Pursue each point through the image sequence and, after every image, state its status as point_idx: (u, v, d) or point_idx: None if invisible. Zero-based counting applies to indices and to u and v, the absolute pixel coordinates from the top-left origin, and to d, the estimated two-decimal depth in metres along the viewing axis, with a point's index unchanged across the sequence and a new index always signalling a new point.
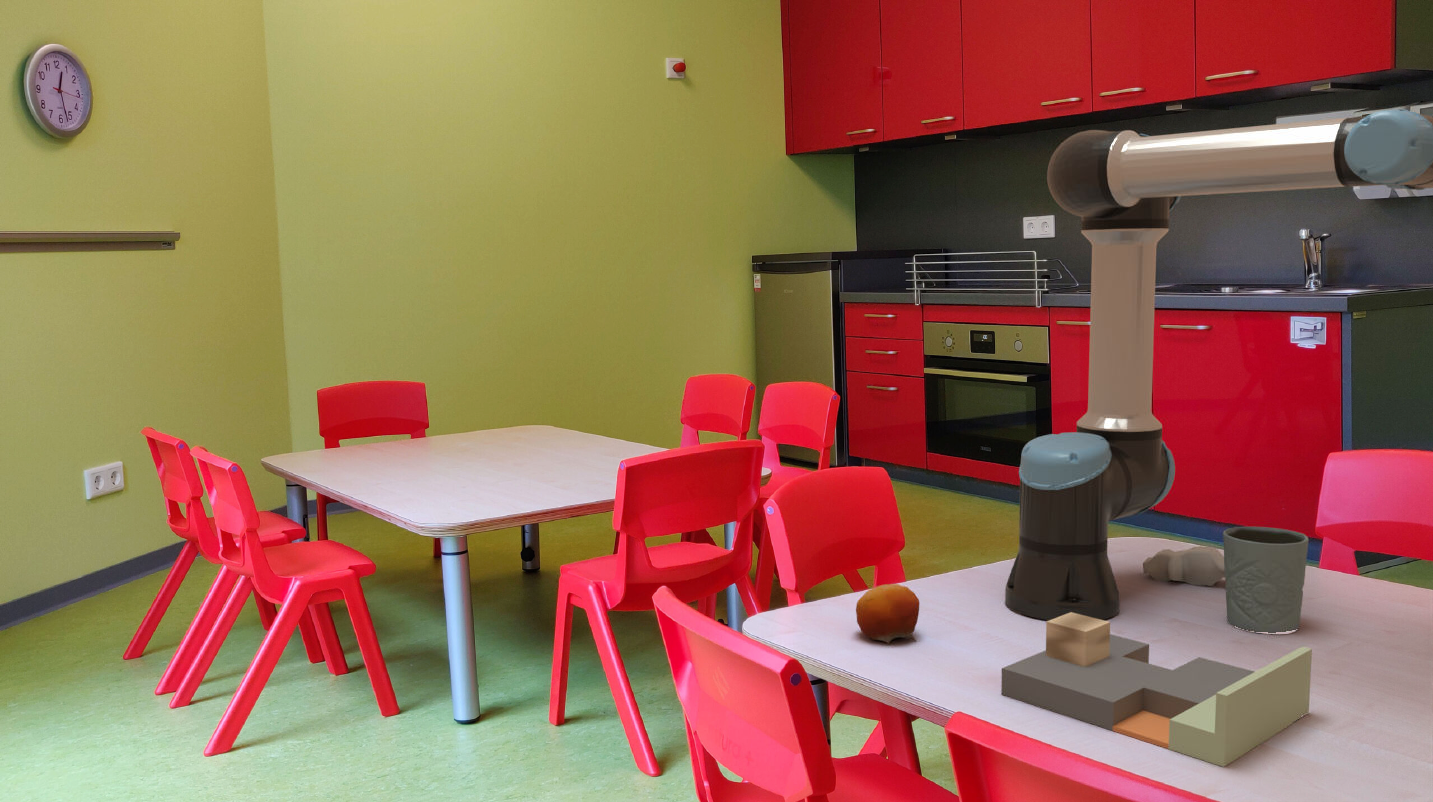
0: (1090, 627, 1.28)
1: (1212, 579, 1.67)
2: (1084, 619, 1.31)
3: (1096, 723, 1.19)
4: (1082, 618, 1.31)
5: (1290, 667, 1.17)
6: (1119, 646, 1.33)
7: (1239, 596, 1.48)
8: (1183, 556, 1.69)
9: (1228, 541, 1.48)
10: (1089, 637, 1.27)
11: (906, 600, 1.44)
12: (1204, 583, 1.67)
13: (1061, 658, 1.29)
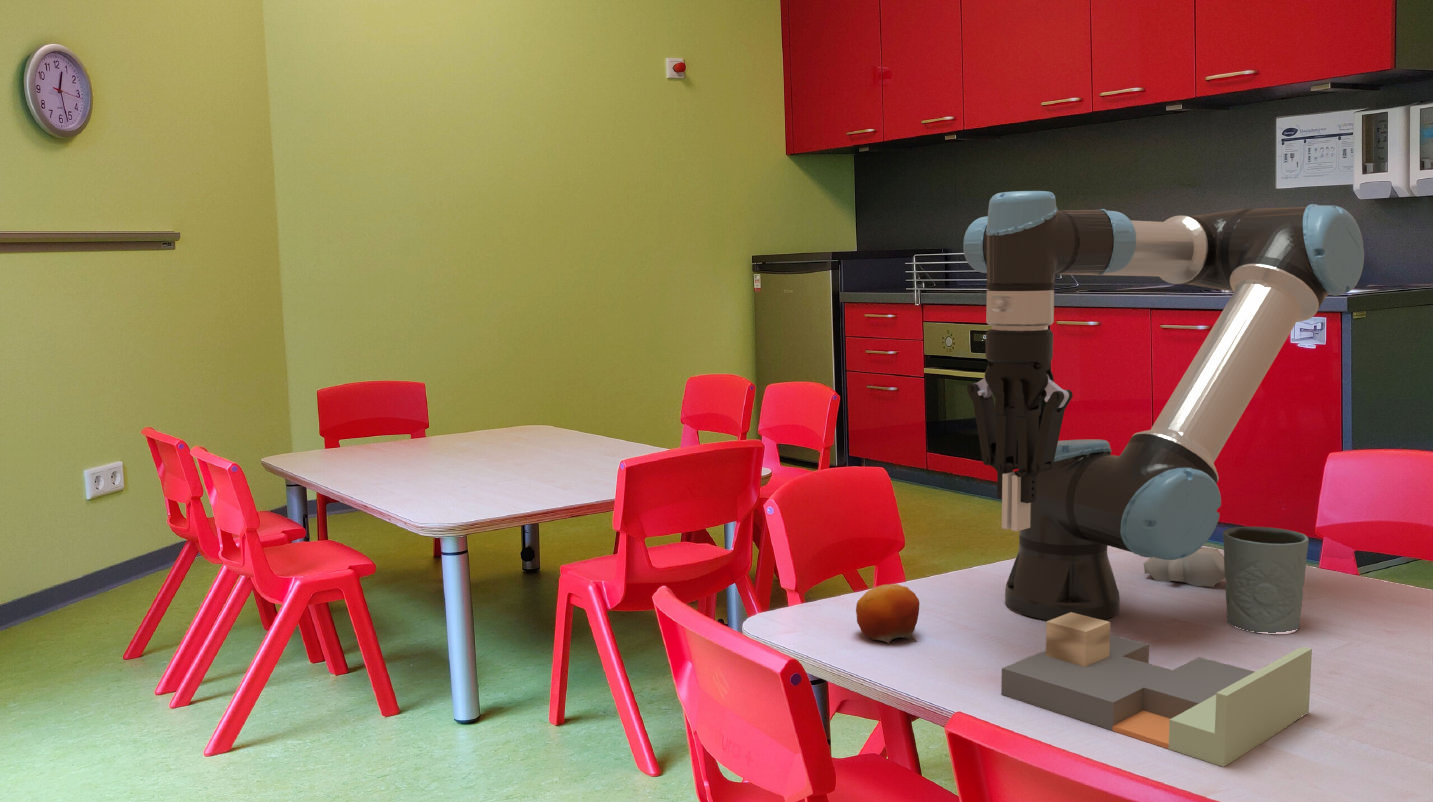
0: (1090, 627, 1.28)
1: (1213, 580, 1.66)
2: (1084, 619, 1.31)
3: (1096, 723, 1.19)
4: (1082, 618, 1.31)
5: (1290, 667, 1.17)
6: (1119, 646, 1.33)
7: (1239, 596, 1.48)
8: (1184, 557, 1.68)
9: (1228, 541, 1.48)
10: (1089, 637, 1.27)
11: (906, 601, 1.44)
12: (1205, 584, 1.67)
13: (1061, 658, 1.29)
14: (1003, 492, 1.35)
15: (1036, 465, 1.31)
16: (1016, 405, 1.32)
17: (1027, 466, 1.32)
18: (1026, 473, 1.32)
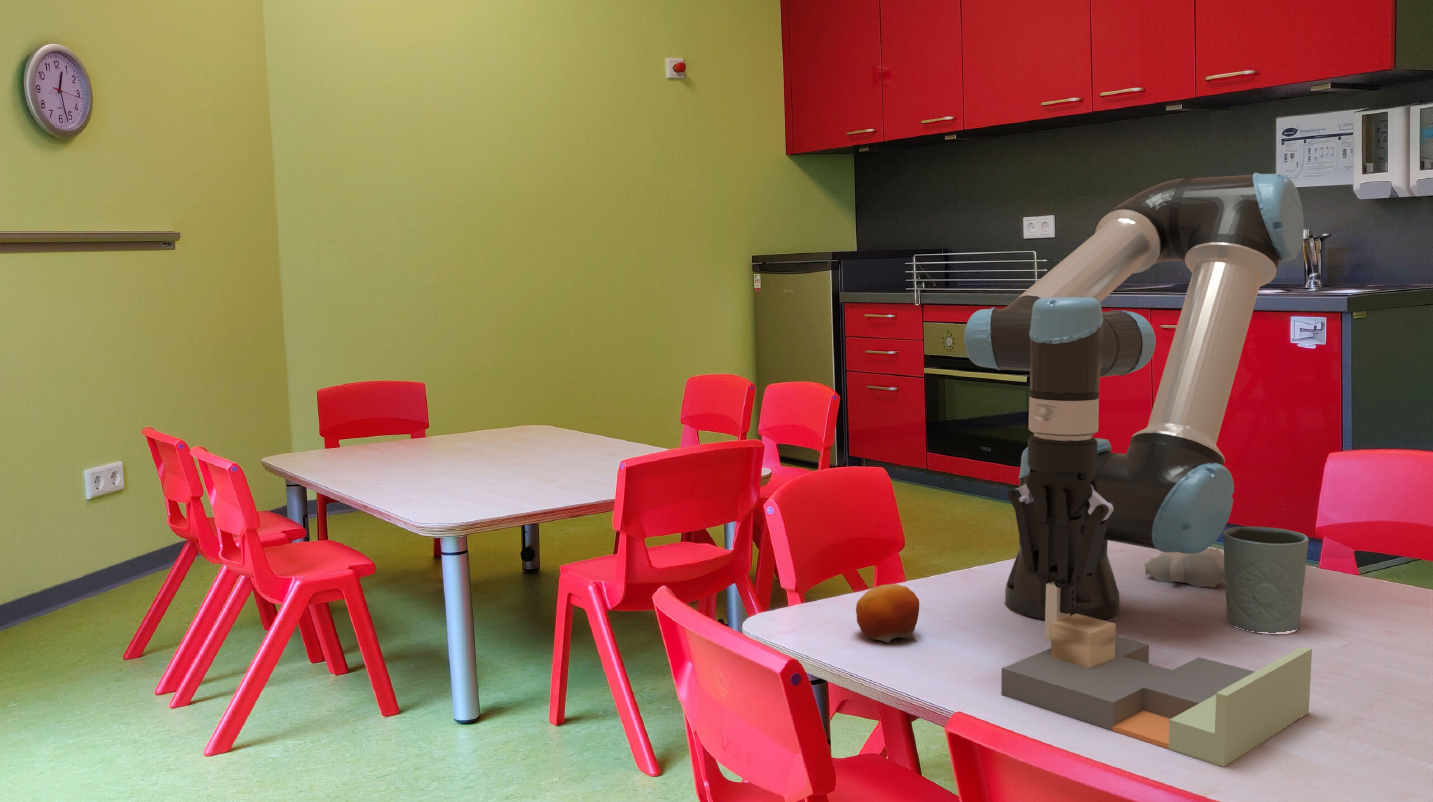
0: (1095, 629, 1.27)
1: (1214, 581, 1.66)
2: (1089, 620, 1.30)
3: (1096, 723, 1.19)
4: (1087, 619, 1.31)
5: (1290, 667, 1.17)
6: (1119, 646, 1.33)
7: (1239, 596, 1.48)
8: (1185, 557, 1.68)
9: (1228, 541, 1.48)
10: (1093, 639, 1.27)
11: (906, 600, 1.44)
12: (1206, 585, 1.66)
13: (1066, 660, 1.29)
14: (1046, 602, 1.31)
15: (1076, 577, 1.28)
16: (1058, 515, 1.29)
17: (1067, 577, 1.29)
18: (1066, 584, 1.29)
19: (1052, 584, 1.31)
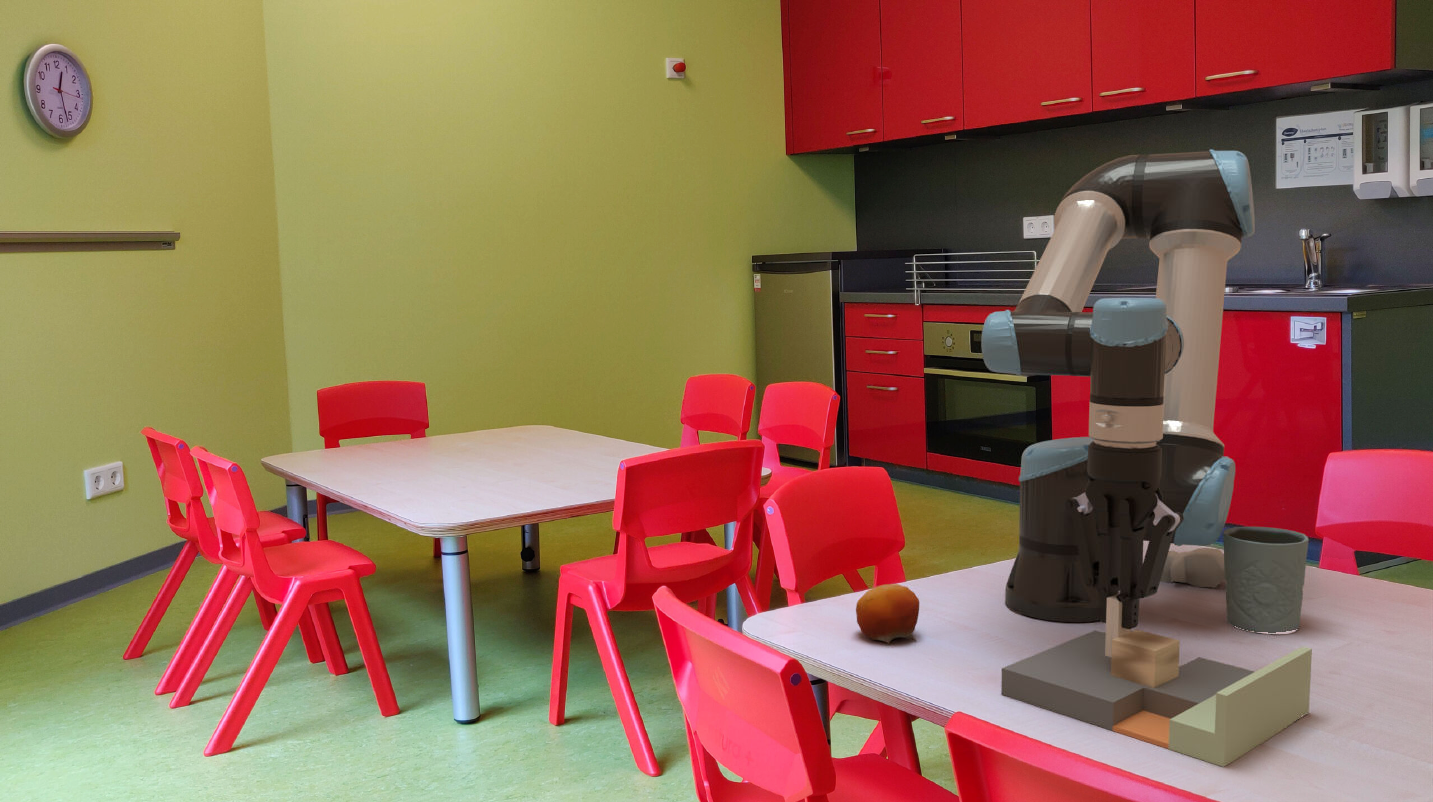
0: (1159, 646, 1.21)
1: (1215, 581, 1.66)
2: (1151, 637, 1.24)
3: (1096, 723, 1.19)
4: (1149, 636, 1.25)
5: (1290, 667, 1.17)
6: None
7: (1239, 596, 1.48)
8: (1186, 557, 1.68)
9: (1228, 541, 1.48)
10: (1158, 657, 1.21)
11: (906, 600, 1.44)
12: (1207, 585, 1.66)
13: (1128, 678, 1.23)
14: (1107, 617, 1.25)
15: (1140, 590, 1.22)
16: (1121, 525, 1.23)
17: (1130, 591, 1.23)
18: (1129, 598, 1.23)
19: (1113, 598, 1.25)
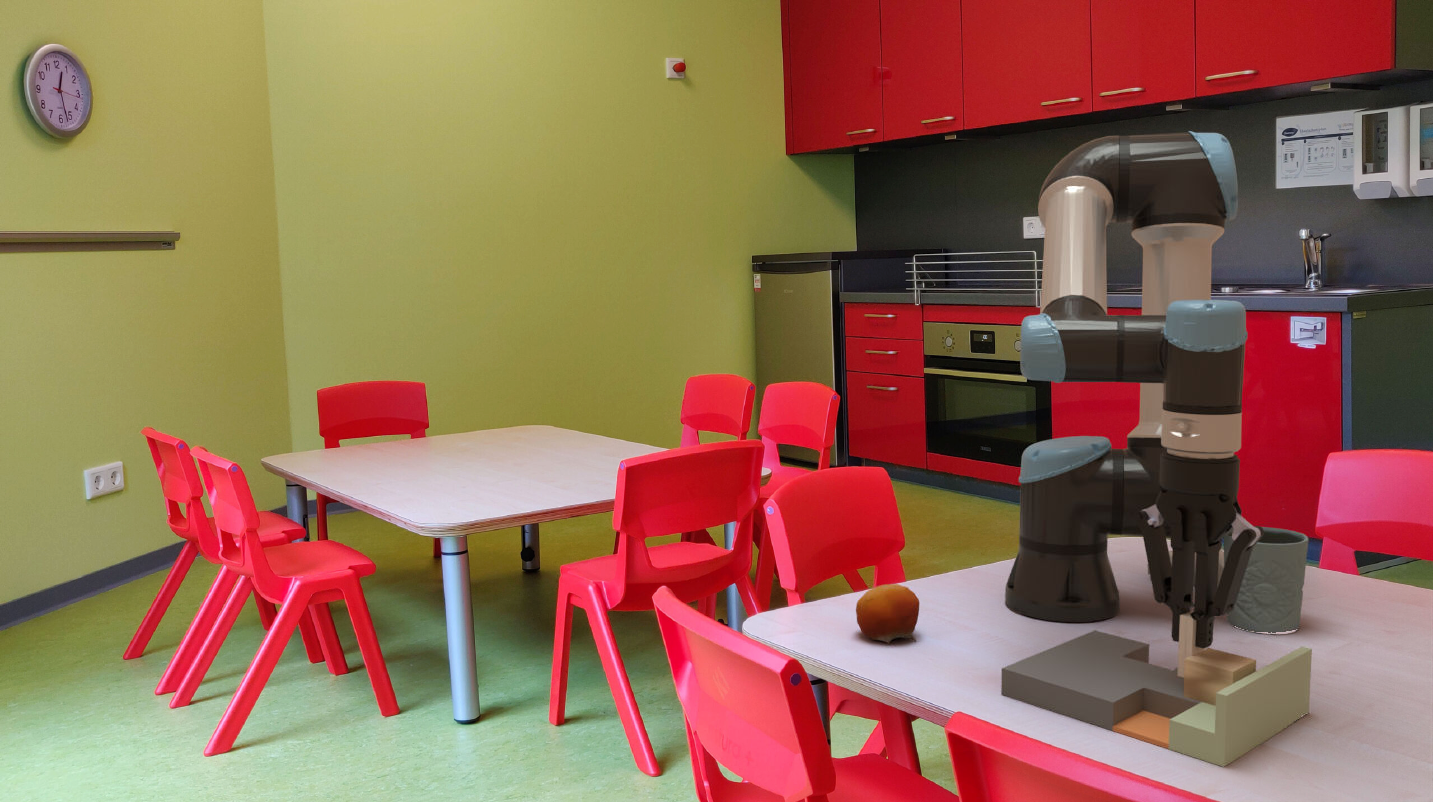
0: (1236, 666, 1.15)
1: None
2: (1226, 656, 1.18)
3: (1096, 723, 1.19)
4: (1223, 655, 1.19)
5: (1290, 667, 1.17)
6: (1119, 646, 1.33)
7: (1239, 596, 1.48)
8: None
9: (1228, 541, 1.48)
10: (1235, 677, 1.14)
11: (906, 601, 1.44)
12: None
13: (1202, 700, 1.17)
14: (1180, 635, 1.19)
15: (1217, 608, 1.16)
16: (1196, 540, 1.17)
17: (1205, 608, 1.17)
18: (1204, 616, 1.17)
19: (1187, 616, 1.19)
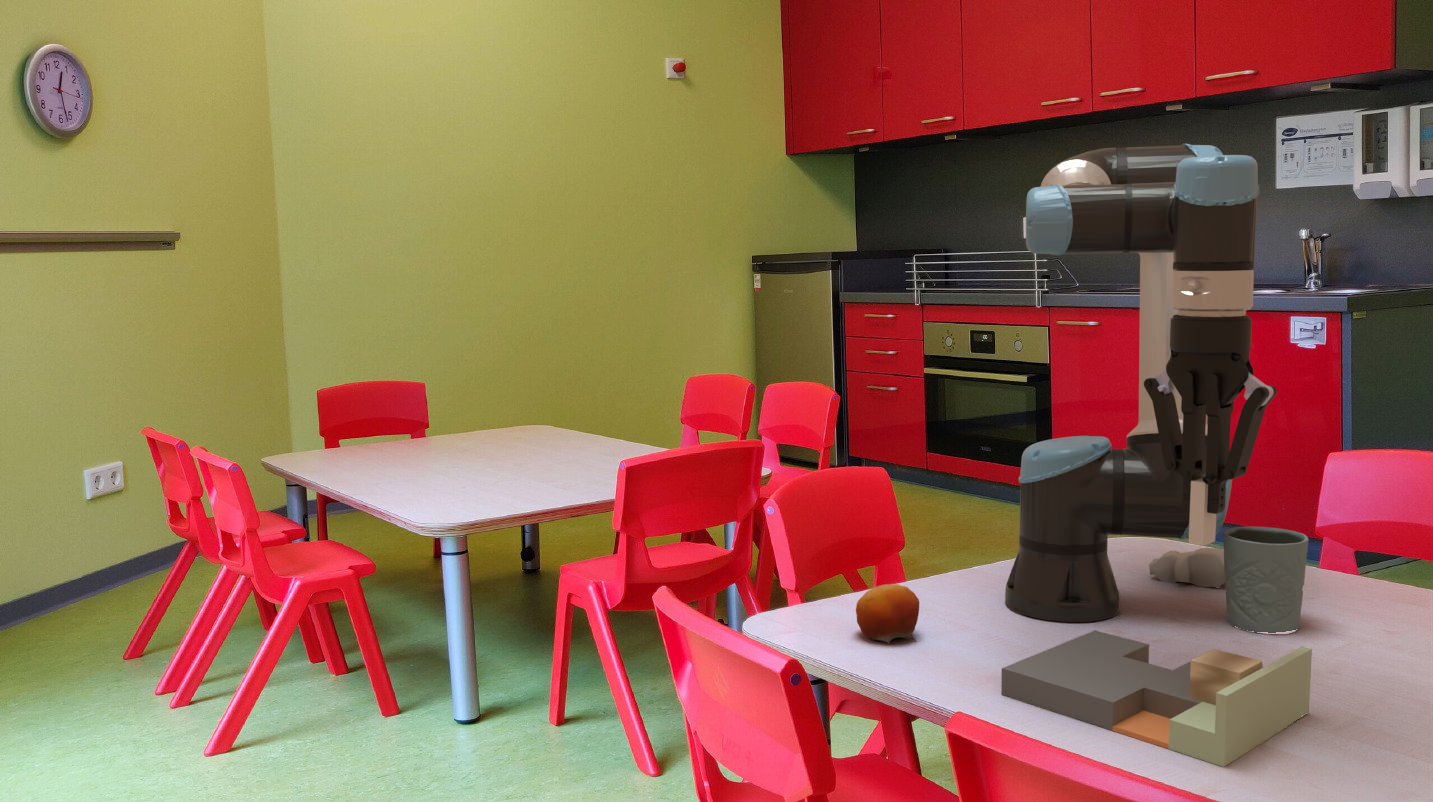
0: (1242, 667, 1.15)
1: (1219, 580, 1.66)
2: (1232, 657, 1.18)
3: (1096, 723, 1.19)
4: (1229, 656, 1.18)
5: (1290, 667, 1.17)
6: (1119, 646, 1.33)
7: (1239, 596, 1.48)
8: (1190, 557, 1.68)
9: (1228, 541, 1.48)
10: None
11: (906, 600, 1.44)
12: (1211, 584, 1.66)
13: (1208, 701, 1.16)
14: (1191, 502, 1.17)
15: (1229, 471, 1.14)
16: (1208, 402, 1.15)
17: (1217, 472, 1.15)
18: (1216, 480, 1.15)
19: (1198, 481, 1.17)
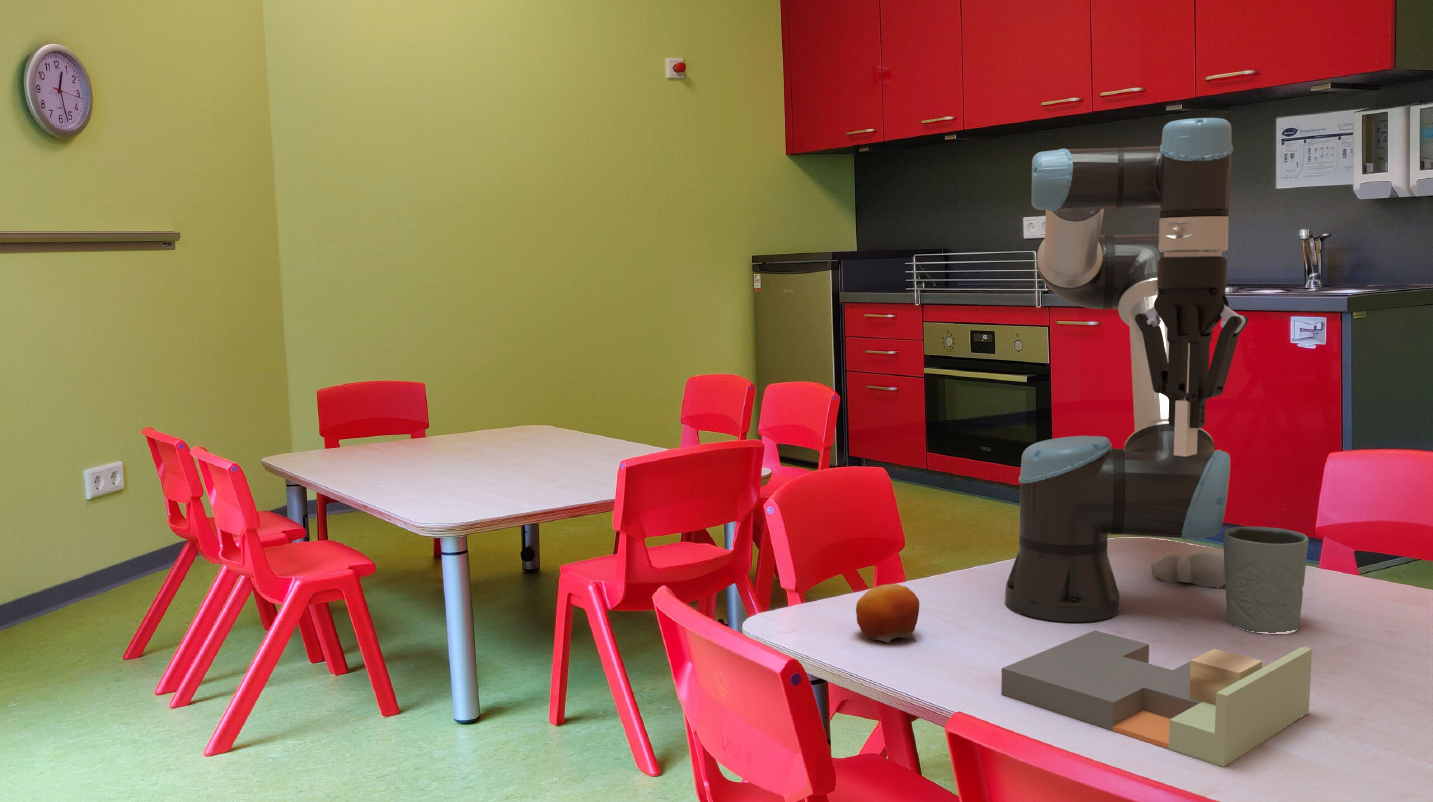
0: (1242, 667, 1.15)
1: (1221, 580, 1.66)
2: (1232, 657, 1.18)
3: (1096, 723, 1.19)
4: (1229, 656, 1.18)
5: (1290, 667, 1.17)
6: (1119, 646, 1.33)
7: (1239, 596, 1.48)
8: (1192, 557, 1.68)
9: (1228, 541, 1.48)
10: None
11: (906, 600, 1.44)
12: (1213, 585, 1.66)
13: (1208, 701, 1.16)
14: (1176, 419, 1.36)
15: (1208, 390, 1.33)
16: (1189, 331, 1.33)
17: (1198, 391, 1.34)
18: (1197, 398, 1.34)
19: (1181, 401, 1.36)
